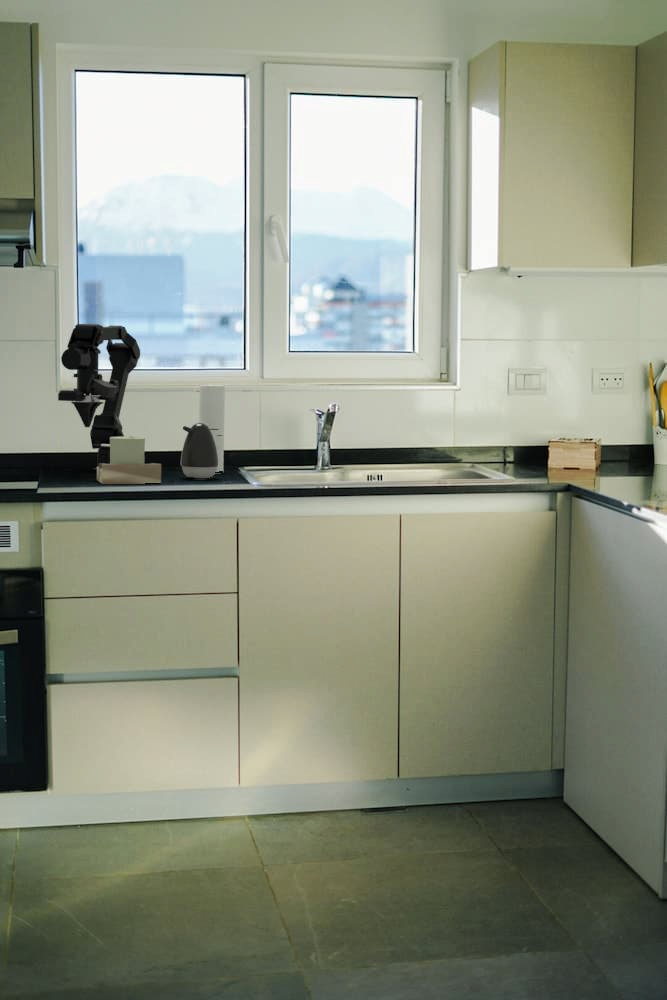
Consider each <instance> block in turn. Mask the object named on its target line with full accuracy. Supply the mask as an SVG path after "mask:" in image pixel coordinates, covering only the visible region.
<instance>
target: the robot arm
mask: <svg viewBox="0 0 667 1000" xmlns="http://www.w3.org/2000/svg"><path fill="white" fill-rule="evenodd" d="M113 340H115V341H117V340H118V341H121V342H114V343H113ZM105 341H107V344H106V347H105V349H106V351H107V353H108V355H109V356H108V357H109V358H108V360H109V362H110V365H111V367H112V369H111V373H110V378H109V381H105V380H103V375H102V373H99V354H101V353H102V352H101V350H100V349H99V348H98V347H99V346H100V345H101V344H103V343H104V342H105ZM140 357H141V349H140V347H139V344H138V342H137V340H136V338H134V337H133V336H132V335H131V334H130V333H129V332H128V331H127V329H126V326H123V325H109V326H103V325H101V324H98V323H77V324H75V325H74V328H73V329H72V332H71V335H70V338H69V340H68V343H67V349H65V350H64V351H63V352H62V355H61V359H60V360H61V361H60V362H61V364H62V366H63V367H64V368H65V369H67V370H70V371H76V373H73V378H76V388H73V390H70V389H69V390H68V389H65V390H62V389H61V390H60V391H59V392H58V393H57V401H61V402H62V401H63V402H66V401H67V402H71V404H73V405H74V407H75V410H76V412H77V413H78V415H79V417H80V419H81V421H82V424H83V425H84V428H90V427H91V429H90V432H89V433H90V435H89V436H90V441H91V448H92V450H93V449H97V467H99V463H105V464H110V437H125V435H124V432H123V426H122V423H121V420H120V415H121V409H122V405H123V401H124V396H125V392H126V387H127V383H128V379H129V375H130V373H131V372H132V371H133V370H134V369H136V367H137V365H138V361H139V359H140ZM103 404H104V405H103ZM101 405H103V409H102V412H101V413H100V414H95V413H96V410H97V409H98V408H99V407H100V406H101ZM97 467H94V468H93V471H97Z"/></svg>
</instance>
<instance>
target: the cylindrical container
mask: <svg viewBox="0 0 667 1000" xmlns="http://www.w3.org/2000/svg"><path fill="white" fill-rule="evenodd" d="M225 389H226V388H225V385H215V384H213V385H211V384H206V385H205V384H203V385H199V409H198V411H199V417H198V421H199V422H198V423H203V424H205V425H207V426H208V427H209V429H210V431H211V433H212V435H213V438H214V441H215V444H216V449H217V454H218V466H217V470H216V472H219V471H223V472H224V460H225V459H224V452H225V448H224V446H225V444H224V443H225V441H224V440H225V435H224V434H225V398H226V397H225V393H226V391H225Z"/></svg>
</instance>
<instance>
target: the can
mask: <svg viewBox="0 0 667 1000" xmlns="http://www.w3.org/2000/svg"><path fill="white" fill-rule="evenodd" d="M109 446H110V464H145V449H146V448H145V447H146V438H145V437H141V436H133V435H131V436H129V435H128V436H124V437H110V444H109Z"/></svg>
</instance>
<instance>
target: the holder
mask: <svg viewBox="0 0 667 1000" xmlns="http://www.w3.org/2000/svg"><path fill="white" fill-rule="evenodd" d="M96 468H97V470H96V481H98V482H99V483H100V484H102V485H131V484H132V485H140V484H141V485H142V484H143V485H145V483H161V484H162V464H161V463H157V462H151V463H144V464H105V463H99V467H98V466H96Z"/></svg>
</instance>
